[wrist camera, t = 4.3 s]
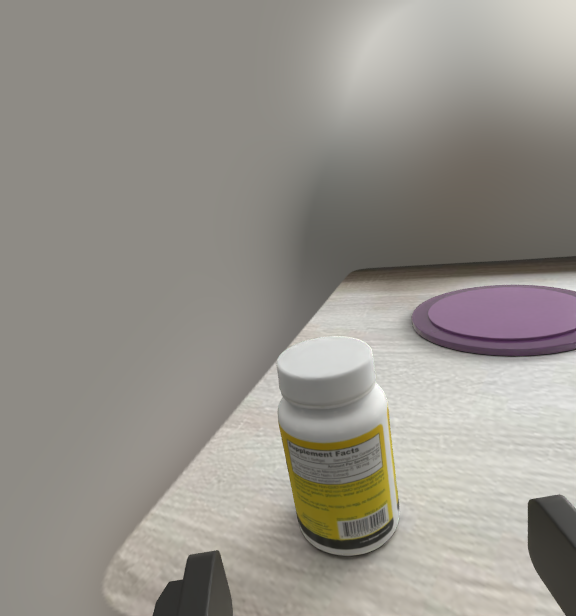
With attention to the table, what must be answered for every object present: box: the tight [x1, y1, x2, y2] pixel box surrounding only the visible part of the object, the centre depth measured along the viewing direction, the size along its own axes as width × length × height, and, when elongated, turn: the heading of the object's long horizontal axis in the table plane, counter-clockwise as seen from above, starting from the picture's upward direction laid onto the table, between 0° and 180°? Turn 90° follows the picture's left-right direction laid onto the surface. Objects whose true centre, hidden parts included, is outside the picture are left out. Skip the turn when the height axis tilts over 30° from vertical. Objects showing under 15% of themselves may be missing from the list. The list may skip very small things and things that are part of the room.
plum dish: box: [412, 285, 576, 356], centre depth 40 cm, size 16×16×1 cm
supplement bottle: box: [277, 336, 399, 556], centre depth 20 cm, size 5×5×8 cm
